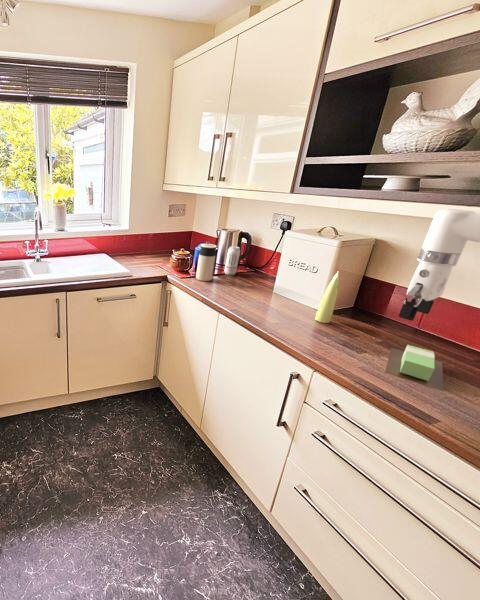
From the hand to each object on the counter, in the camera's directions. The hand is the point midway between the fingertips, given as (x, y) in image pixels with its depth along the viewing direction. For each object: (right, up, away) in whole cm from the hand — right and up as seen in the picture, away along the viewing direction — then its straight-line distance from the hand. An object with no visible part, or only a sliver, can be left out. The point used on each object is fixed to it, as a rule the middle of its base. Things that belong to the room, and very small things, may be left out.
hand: (413, 315), depth 96 cm
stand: (+4, -16, +4) cm, 17 cm away
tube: (-1, -4, +34) cm, 35 cm away
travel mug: (-30, +15, +81) cm, 88 cm away
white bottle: (-13, +19, +89) cm, 92 cm away
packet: (+4, -16, +3) cm, 17 cm away
